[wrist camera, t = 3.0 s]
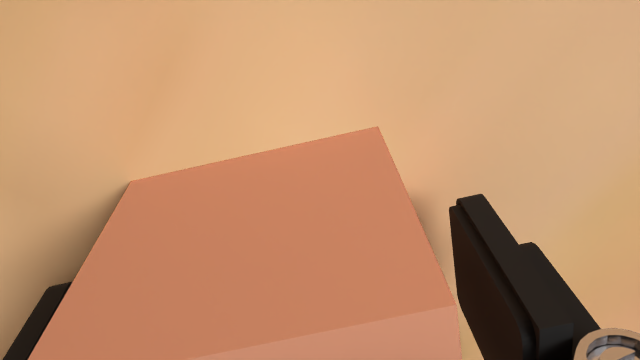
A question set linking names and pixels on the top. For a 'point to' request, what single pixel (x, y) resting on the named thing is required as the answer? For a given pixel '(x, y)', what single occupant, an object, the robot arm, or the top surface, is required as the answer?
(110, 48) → the top surface
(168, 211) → the rust brick
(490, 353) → the robot arm
